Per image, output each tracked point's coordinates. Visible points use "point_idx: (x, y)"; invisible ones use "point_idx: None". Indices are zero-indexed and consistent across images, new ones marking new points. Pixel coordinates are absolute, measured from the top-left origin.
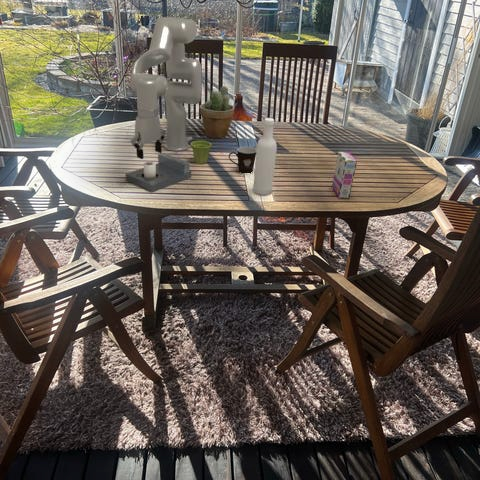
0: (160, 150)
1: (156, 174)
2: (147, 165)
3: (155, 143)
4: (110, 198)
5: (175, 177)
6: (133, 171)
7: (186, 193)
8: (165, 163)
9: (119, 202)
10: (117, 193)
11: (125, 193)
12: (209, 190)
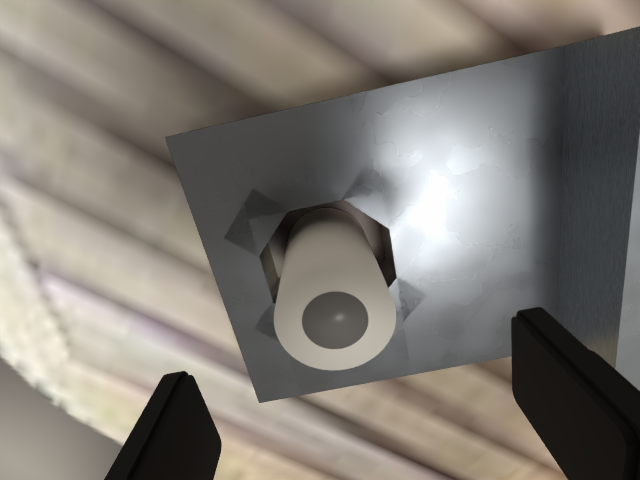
0: (540, 428)
1: (391, 254)
2: (298, 340)
3: (610, 429)
4: (12, 330)
5: (464, 360)
6: (250, 122)
7: (411, 447)
8: (581, 154)
9: (52, 389)
10: (68, 293)
11: (115, 314)
12: (526, 467)
